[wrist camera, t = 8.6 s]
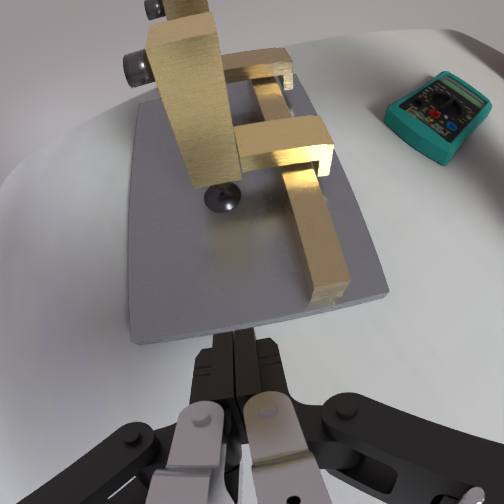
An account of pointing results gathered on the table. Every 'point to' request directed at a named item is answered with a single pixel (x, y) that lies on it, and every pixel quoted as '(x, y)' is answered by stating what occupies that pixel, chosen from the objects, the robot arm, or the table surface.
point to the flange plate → (228, 238)
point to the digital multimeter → (438, 116)
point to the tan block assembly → (288, 176)
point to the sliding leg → (217, 108)
